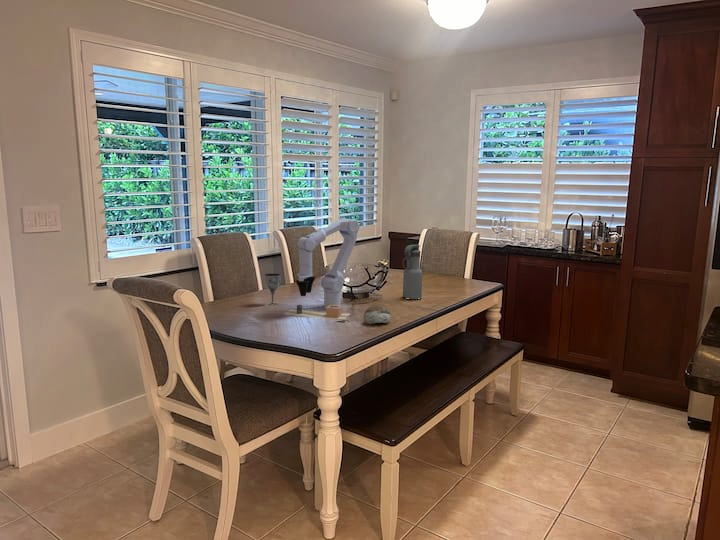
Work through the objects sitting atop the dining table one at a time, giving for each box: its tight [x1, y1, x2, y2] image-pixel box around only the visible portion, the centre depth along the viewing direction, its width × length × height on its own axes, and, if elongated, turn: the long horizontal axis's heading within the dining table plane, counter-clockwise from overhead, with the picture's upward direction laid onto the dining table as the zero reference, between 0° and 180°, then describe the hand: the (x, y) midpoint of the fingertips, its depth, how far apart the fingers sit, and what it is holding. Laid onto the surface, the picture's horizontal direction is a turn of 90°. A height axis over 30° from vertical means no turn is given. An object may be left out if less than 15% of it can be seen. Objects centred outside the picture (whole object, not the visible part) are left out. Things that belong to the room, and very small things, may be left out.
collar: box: [325, 305, 343, 318], centre depth 238 cm, size 6×6×4 cm
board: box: [282, 304, 351, 324], centre depth 240 cm, size 12×28×5 cm, turn 79°
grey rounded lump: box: [363, 305, 392, 325], centre depth 233 cm, size 14×9×10 cm
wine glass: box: [263, 272, 282, 307], centre depth 261 cm, size 8×8×15 cm
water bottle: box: [402, 244, 423, 299], centre depth 280 cm, size 10×10×28 cm
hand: (305, 294), depth 243 cm, fingers open, 7 cm apart
